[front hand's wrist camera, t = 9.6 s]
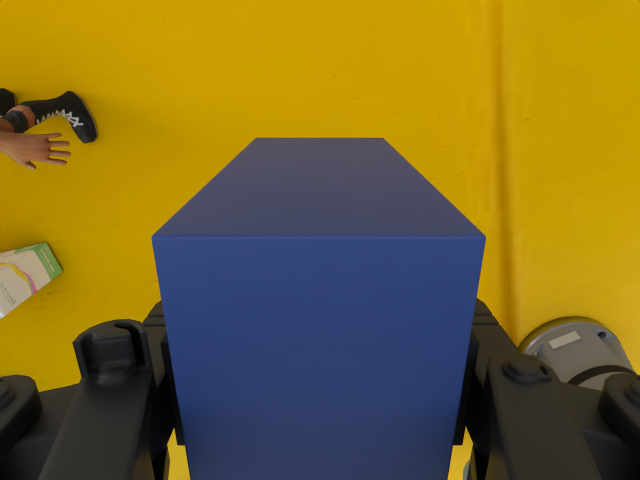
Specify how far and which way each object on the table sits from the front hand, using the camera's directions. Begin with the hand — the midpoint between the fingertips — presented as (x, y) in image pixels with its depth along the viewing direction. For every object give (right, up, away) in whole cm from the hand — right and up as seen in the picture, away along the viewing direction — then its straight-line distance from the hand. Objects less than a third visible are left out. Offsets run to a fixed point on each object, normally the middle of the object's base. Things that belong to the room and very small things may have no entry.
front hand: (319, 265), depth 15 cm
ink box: (-40, -2, +42) cm, 58 cm away
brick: (0, +1, +2) cm, 3 cm away
